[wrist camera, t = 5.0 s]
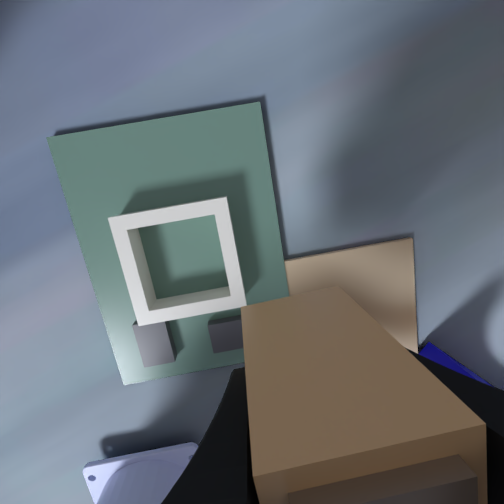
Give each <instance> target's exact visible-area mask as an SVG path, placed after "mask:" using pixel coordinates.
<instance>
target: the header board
mask: <svg viewBox="0 0 504 504" xmlns="http://www.w3.org/2000/svg"><path fill="white" fill-rule="evenodd" d="M46 138H47V141H48V145H49V148H50V151H51V154H52V157H53V161H54V164H55V167H56V170H57V173H58V177H59V180H60V183H61V186H62V189H63V193H64V196H65V199H66V202H67V205H68V209H69V212H70V215H71V218H72V221H73V224H74V228H75V231H76V234H77V237H78V240H79V244H80V247H81V250H82V253H83V256H84V260H85V263H86V266H87V269H88V272H89V276H90V279H91V282H92V285H93V288H94V292H95V295H96V298H97V301H98V304H99V307H100V311H101V314H102V317H103V320H104V323H105V327H106V330H107V333H108V336H109V339H110V343H111V346H112V349H113V352H114V355H115V359H116V362H117V365H118V368H119V371H120V375H121V378H122V381H123V384H124V385H129V384H134V383H139V382H144V381H150V380H155V379H160V378H165V377H171V376H176V375H181V374H186V373H192V372H197V371H202V370H207V369H213V368H218V367H223V366H228V365H234V364H239V363H244V362H245V361H244V347H243V333H242V319H241V307H242V306H247V305H252V304H256V303H261V302H266V301H270V300H275V299H280V298H284V297H289V291H288V284H287V278H286V271H285V264H284V258H283V251H282V244H281V238H280V231H279V224H278V218H277V211H276V204H275V198H274V191H273V184H272V178H271V171H270V164H269V158H268V151H267V144H266V138H265V131H264V124H263V118H262V111H261V104H260V102H254V103H248V104H242V105H237V106H231V107H225V108H219V109H213V110H207V111H201V112H195V113H189V114H183V115H177V116H171V117H165V118H159V119H153V120H147V121H141V122H135V123H129V124H123V125H118V126H112V127H106V128H100V129H94V130H88V131H82V132H76V133H70V134H64V135H58V136H52V137H46Z"/></svg>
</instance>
